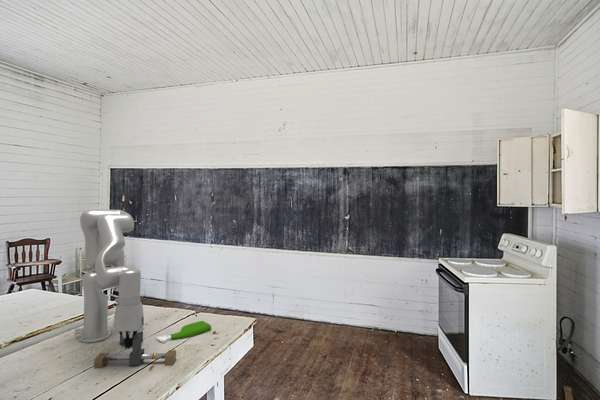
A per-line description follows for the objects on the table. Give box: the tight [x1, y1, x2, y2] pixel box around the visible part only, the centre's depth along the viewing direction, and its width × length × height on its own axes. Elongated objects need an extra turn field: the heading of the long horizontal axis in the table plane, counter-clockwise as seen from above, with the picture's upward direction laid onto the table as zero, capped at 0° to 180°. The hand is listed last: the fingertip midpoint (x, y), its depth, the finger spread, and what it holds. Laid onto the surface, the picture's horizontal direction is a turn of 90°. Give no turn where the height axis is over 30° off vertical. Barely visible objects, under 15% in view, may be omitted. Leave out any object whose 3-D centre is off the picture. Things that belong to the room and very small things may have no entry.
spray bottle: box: [155, 320, 212, 344], centre depth 156 cm, size 3×11×24 cm
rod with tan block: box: [93, 349, 177, 372], centre depth 128 cm, size 29×12×4 cm, turn 97°
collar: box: [128, 334, 145, 366], centre depth 128 cm, size 4×6×10 cm, turn 7°
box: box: [119, 330, 144, 348], centre depth 146 cm, size 8×6×11 cm
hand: (128, 346), depth 127 cm, fingers closed
